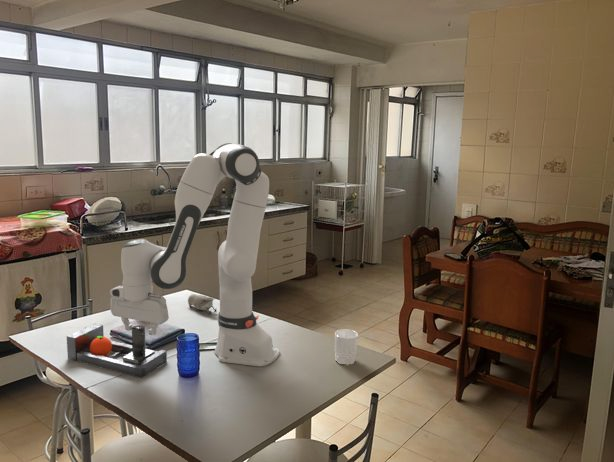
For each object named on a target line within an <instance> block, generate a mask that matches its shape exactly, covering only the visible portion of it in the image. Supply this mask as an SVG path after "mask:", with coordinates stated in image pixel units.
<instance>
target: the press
mask: <svg viewBox="0 0 614 462" xmlns="http://www.w3.org/2000/svg"><path fill="white" fill-rule="evenodd" d="M104 335H105V333H104V325H103V324H99V323H93V324H91V325H88V326H86V327H84V328H81V329H79V330H78V331H75V332H73V333H71V334H68V335H66V348H67V349H66V350H67V351H66V352H67V360H70V361H74V362H79V363H82V364H86V365H90V366H94V367H97V368H99V369H100V368H101V369H105V370H108V371H113V372H116V373H120V374H123V375H127V376H132V377H135V378H139V379H143V378H145V377H146V376H147V375H149V374H151V373H152V372H153V371H156V370H157V369H159V368H160V367H162V366H163V365H165V364H166V363H167V362H168V361H167V360H168V359H167V358H168V355H167V350H165V349H160V350H159V351H158V350H154V351H155V354H153V355H152V356H150V357H148V358H147V359H145V360H143V361H142V362H140V363H138V364H137V365H136V364H132V363H128V362H124V361H123V360H119V359H117V358H119V357H120V356H122V355H124V356H126V355H128V354H129V353H131V352H132V344H128V343H124V342H119V341H115V340H110V339H109V340H110V341H111V343H112V350H111V352H112V353H114V354H112V355H110V356H109V357H107V356H106V357H104V356H100V355H96V354H92V353H91V352H90V344H91V342H92V341H93V340H94V339H95V338H96V337H97V336H102V337H105V336H104ZM147 349H148V348H147ZM148 350H150V349H148ZM111 352H110V353H111Z"/></svg>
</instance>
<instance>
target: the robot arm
mask: <svg viewBox="0 0 614 462" xmlns="http://www.w3.org/2000/svg"><path fill="white" fill-rule="evenodd" d="M226 177H227V178H229V179H233V180H234V181H235V186H236V187H235V193H234V196H233V200H232V205H231V210H230V213H229V216H228V222H227V231H226V233H227V234H226V239H225V240H224V241H223V242H222V243H221V244H220V245H219V249H218V253H217V261H218V283H219V312H218V316H217V317H218V319H217V323H218V336H217V342H216V346H215V348H214V354H215V355H216V356H217V358H218V360H219V361H220V362H222V363H229V364H236V365H237V364H238V365H244V366H253V367H260V368H261V367H265V366H268V365H270V364H271V363H273V362H274V361H276V359H277V358H278V357H279V355H280V349H279V348H277V347H274V344H273V338H272V337H271V335H270V334H269V333H268V332H267V331H265V329H263V328H262V327H261V326H260V325H259V324H258V323H257V320H259V317H260V315H256V316H255V314H254V311H253V288H252V287H253V285H252V277H253V275H254V274H255V272H256V268H257V260H258V259H257V258H258V253H259V246H260V237H261V236H260V235H261V229H262V225H263V221H264V217H265V213H266V209H267V204H268V200H269V193H270V192H269V191H270V179H269V177H268V175H267V174H266V173H264V172H263V171H262V170H261V166H260V160H259V156H258V154H257V153H256V152H255V151H254V150H253V149H252V148H250V147H248V146H246V145H243V144H241V143H232V142H231V143H230V142H229V143H228V142H227V143H223V144H220V146H218V147H217V148H215V149H214V150H212V152H211V153H209V154H208V153H202V152H201V153H197V154H196V155H194V156H193V157H192V159H191V160H190V162H189V163H188V164H187V166H186V168H185V170H184V172H183V174H182V176H181V179H180V181H179V183H178V185H177V189H176V193H175V197H174V209H175V223H174V226H173V230H172V233H171V235H170V238H169V240H168V243H167V247H165V246H160V245H157V244H155V243H152V242H150V241H148V239H143V238H139V239H135V240H134V239H133V240H130V241H128V242H126V243H124V245H123V246H122V248H121V253H120V266H121V268H120V269H121V272H122V281H121V282H122V284H121V285H118V286H115V287H113V288H112V289H110V290H109V293H110V296H111V297H110V299H109V300H110V301H109V302H110V303H109V305H110V312H111V315H112V316H114V317H119V318H120V319H121V321H122V324H123V325H124V330H125V331H129V332H130V331H132V327H133V324H132V323H131V321H130V320H135V321H139V322H145V323H150V326H151V327H150V329H148V335H150V336H155V335H157V328H158V327H159V325H163V324H165V323H166V322H167V321H169V318H170V317H169V310H168V305H167V299H166V298H165V297H164V296H163V295H162V294H161V293H155V292H153V291H154V290H153V286H152V285H153V284H154V285H156V286H157V287H158V288H160V289H164V290H171V289H175V288H177V287H178V286H180V285H182V283H183V282H184V280H185V278H186V275H187V267H186V266H187V265H186V264H187V263H186V261H187V256H188V253H189V251H190V248H191V245H192V242H193V240H194V237H195V235H196V232H197V229H198V228H199V225H200V222H201V220H202V218H203V217H204V214H205V213H206V211H207V209H209V206H210V204H211V201H212V200H213V197H214V194H215V192H216V189H217V186H218V185H219V183H220V182H221V181H222V180H223V179H224V178H226ZM152 281H153V283H152ZM129 319H130V320H129Z"/></svg>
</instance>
